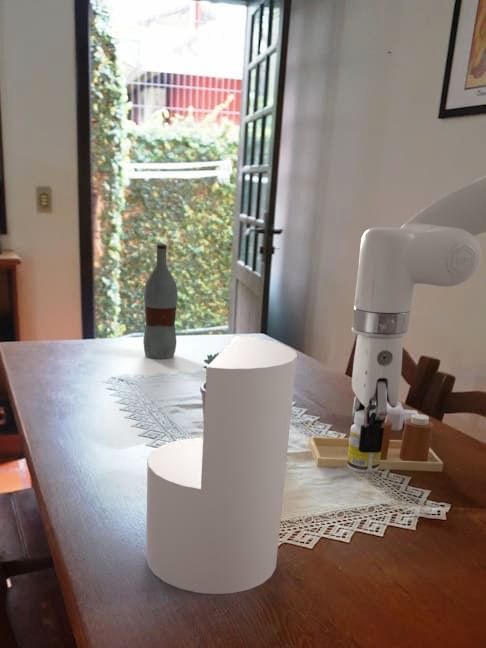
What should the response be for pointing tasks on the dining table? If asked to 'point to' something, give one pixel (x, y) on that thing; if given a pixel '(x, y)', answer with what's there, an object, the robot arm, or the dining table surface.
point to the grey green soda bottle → (160, 310)
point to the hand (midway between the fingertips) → (365, 443)
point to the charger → (396, 415)
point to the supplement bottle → (355, 457)
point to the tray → (336, 455)
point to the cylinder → (225, 476)
